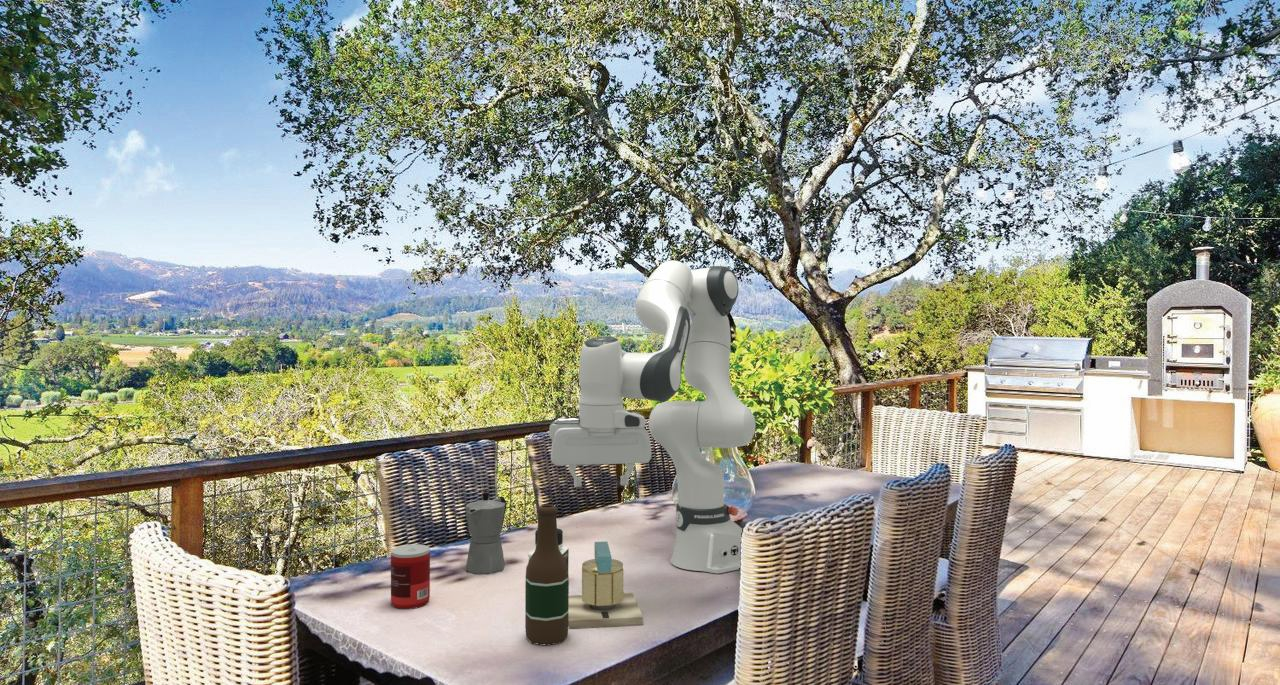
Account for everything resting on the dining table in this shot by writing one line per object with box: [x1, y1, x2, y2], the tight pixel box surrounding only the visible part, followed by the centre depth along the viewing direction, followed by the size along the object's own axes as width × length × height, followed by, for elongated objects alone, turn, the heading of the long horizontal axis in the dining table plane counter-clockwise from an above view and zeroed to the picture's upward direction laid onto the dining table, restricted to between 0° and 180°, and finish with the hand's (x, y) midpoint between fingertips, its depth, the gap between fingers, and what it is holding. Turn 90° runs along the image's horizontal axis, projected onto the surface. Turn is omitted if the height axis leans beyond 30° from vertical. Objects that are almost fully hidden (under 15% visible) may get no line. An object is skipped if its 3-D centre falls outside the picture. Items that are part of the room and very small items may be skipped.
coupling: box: [581, 541, 625, 606], centre depth 156 cm, size 8×11×10 cm
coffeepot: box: [465, 491, 507, 575], centre depth 186 cm, size 15×9×18 cm, turn 159°
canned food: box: [390, 543, 431, 610], centre depth 162 cm, size 8×8×11 cm
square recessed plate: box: [568, 592, 644, 629], centre depth 156 cm, size 14×14×6 cm
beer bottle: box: [524, 504, 570, 646], centre depth 144 cm, size 8×8×24 cm
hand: (601, 485), depth 160 cm, fingers open, 8 cm apart
